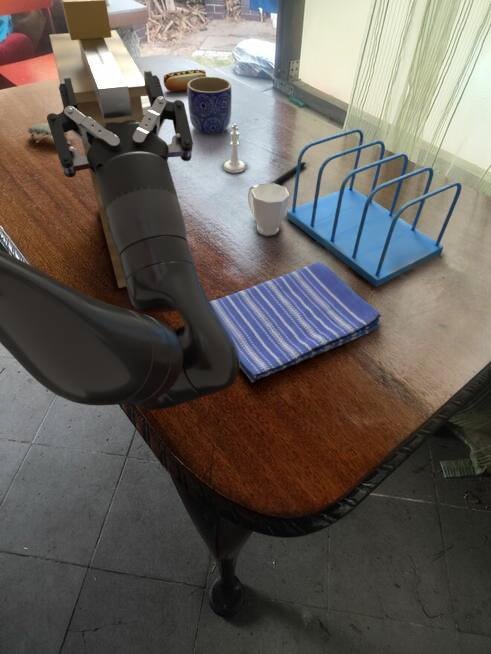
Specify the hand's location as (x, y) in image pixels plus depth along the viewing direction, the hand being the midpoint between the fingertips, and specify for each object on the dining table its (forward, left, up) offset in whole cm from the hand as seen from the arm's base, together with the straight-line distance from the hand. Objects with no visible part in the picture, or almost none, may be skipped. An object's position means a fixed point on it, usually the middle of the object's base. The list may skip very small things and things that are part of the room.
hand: (108, 79), depth 50 cm
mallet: (-1, +7, -2) cm, 7 cm away
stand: (-3, +16, -33) cm, 37 cm away
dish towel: (+22, -8, -34) cm, 41 cm away
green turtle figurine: (-22, +60, -34) cm, 73 cm away
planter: (+18, +63, -34) cm, 74 cm away
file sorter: (+41, +12, -34) cm, 54 cm away
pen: (+32, +36, -33) cm, 59 cm away
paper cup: (+1, +46, -34) cm, 57 cm away
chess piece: (+21, +42, -34) cm, 58 cm away
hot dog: (+14, +92, -34) cm, 99 cm away
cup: (+23, +18, -34) cm, 45 cm away
